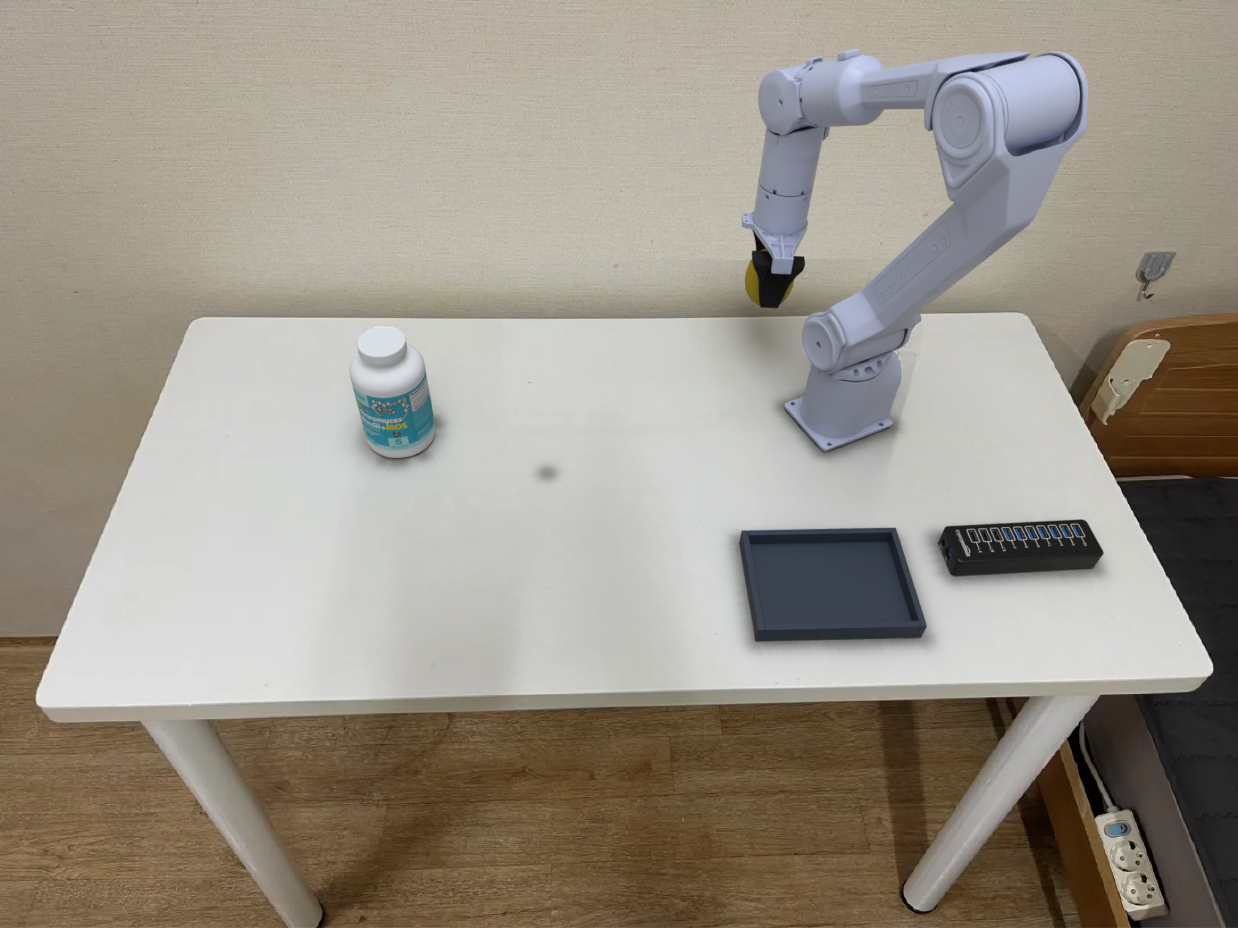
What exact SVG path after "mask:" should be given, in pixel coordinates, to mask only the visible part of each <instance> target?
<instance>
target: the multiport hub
mask: <svg viewBox="0 0 1238 928" xmlns="http://www.w3.org/2000/svg"><path fill="white" fill-rule="evenodd" d="M937 544H938V547H939V550H940V552H941V554H942V557H943V559H944V562H945V565H946V567H947V570H948V572H949V574H950V575H951V576H952V577H965V576H967V577H968V576H987V575H1001V574H1002V575H1004V574H1005V575H1006V574H1023V573H1025V574H1026V573H1041V572H1058V571H1059V572H1061V571H1081V570H1093V569H1094V568H1095V567H1096V565H1097V564H1098V563H1099V561H1100V560H1101V559H1102V557H1103V556H1104V554H1105V552H1104V550H1103V548H1102V546H1101V544H1100V543H1099V540H1098V539H1097V537H1096V536H1095V534H1094V532H1093V530H1092V528H1091V526H1090V524H1089V523H1088V522H1087V520H1085V519H1081V518H1080V519H1060V520H1058V519H1057V520H1039V521H1021V522H1020V521H1019V522H1003V523H1002V522H1001V523H980V524H979V523H978V524H965V525H964V524H960V525H958V524H957V525H946V526H945V527H944V528H943V531H942V533H941V534H940V537H939V539H938V541H937Z"/></svg>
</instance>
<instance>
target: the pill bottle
mask: <svg viewBox="0 0 1238 928" xmlns="http://www.w3.org/2000/svg"><path fill="white" fill-rule="evenodd" d="M406 339H407V338H406V335H405V333H404V332H403V331H402V330H401V329H399V328H397V327H396V326H395V327H394V326H392V325H377V326H373V327H371V328H368V329H365V330H364V331H363V332H362V333H361V334H360V335H359V336H358V338H357V341H356V347H357V352H356V353H355V354H354V356H353V357H352V359H351V361H350V363H349V369H348V370H349V371H348V373H349V378H350V383H351V386H352V390H353V393H354V397H355V402H356V405H357V409H358V411H359V416H360V420H361V424H362V428H363V431H364V435H365V440H366V442H367V444H368V446H369V447H370V449H372V450H373V451H374V452H376V453H377V454H379V455H381V456H383V457H385V458H391V459H403V458H409V457H412V456H414V455H417V454H419V453H421V452H422V451H424V450H425V449H426V448H427V447H429V445H430V444H431V443H432V441H433V440H434V438H435V435H436V422H435V415H434V409H433V404H432V399H431V393H430V387H429V386H430V385H429V381H428V375H427V371H426V365H425V364H426V363H425V361H424V357H423V355H422V353H421V352H420V351H419V350H418V349H417V348H416V347H415V346H414V345H412V344H410V343H408V342H407V340H406Z"/></svg>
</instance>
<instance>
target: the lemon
mask: <svg viewBox="0 0 1238 928" xmlns="http://www.w3.org/2000/svg"><path fill="white" fill-rule="evenodd" d="M761 251H767V249H763V250H761ZM794 283H795V279H794V280H793V281H792V283H791V284H790V286H789V287H788V289H787V291H786V293H785V296H784V298H783V300H782V302H781V304H782V303H783V302H785V301H786V300H787V299H788V297H789V296H790V295H791V292H792V290H793V288H794ZM744 288H745V291H746V294H747V296H748V298H749V299H750V300H751V302H752V303H754V304H755V305H756V306H759V307H760V304H759V285H758V276H757V273H756V271H755V269H754V266H753V263H752V258H751V259H750V260H749V263H748V266H747V268H746V271H745V275H744Z"/></svg>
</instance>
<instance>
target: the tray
mask: <svg viewBox="0 0 1238 928" xmlns="http://www.w3.org/2000/svg"><path fill="white" fill-rule="evenodd" d="M738 543H739V549H740V555H741V556H740V557H741V561H742V568H743V575H744V580H745V588H746V593H747V599H748V604H749V605H748V606H749V610H750V611H749V612H750V616H751V622H752V630H753V635H754V641H755V642H756V643H757V642H758V643H759V642H796V641H836V640H837V641H838V640H839V641H840V640H878V639H879V640H880V639H881V640H882V639H883V640H884V639H885V640H886V639H921V638H922V636H923V635H924V633H925V631H926V629H927V627H928V625H927V621H926V619H925V618H926V617H925V615H924V613H923V609H922V605H921V603H920V599H919V597H918V594H917V589H916V587H915V584H914V581H913V578H912V574H911V572H910V568H909V566H908V561H907V558H906V555H905V552H904V549H903V546H902V542H901V539H900V536H899V533H898V530H897V527H858V528H857V527H856V528H855V527H853V528H850V527H849V528H847V527H846V528H803V529H799V528H798V529H751V530H750V529H747V530H745V529H744V530H743V529H742V530H741V532H740V538H739V542H738Z"/></svg>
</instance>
